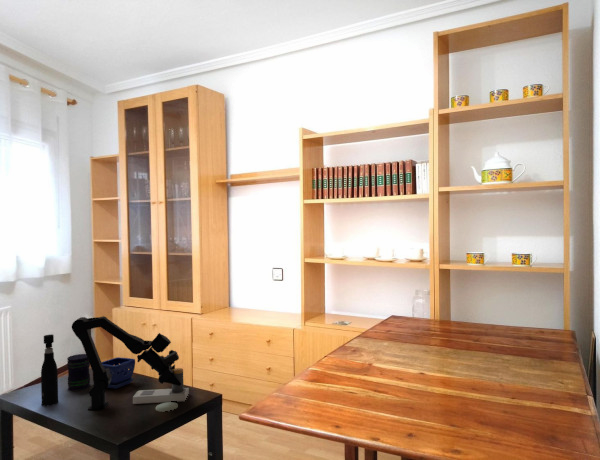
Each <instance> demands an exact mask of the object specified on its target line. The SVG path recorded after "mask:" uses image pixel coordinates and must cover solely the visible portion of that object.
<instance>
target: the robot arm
mask: <svg viewBox="0 0 600 460" xmlns="http://www.w3.org/2000/svg"><path fill="white" fill-rule="evenodd" d="M96 328H101V329H103V330H104V331H105V332H107V333H109V334H110V335H112V336H113V337H115V338H116V339H117V340H119V341H121V342H122V343H123V344H124V346H125V347H126V348H127V349H128V350H129V352H131V353H132V354H134V355H136V357H137V363H140V361H142V360H143V362H145V363H146V364H147V365H149V366H150V369H151V370H154V371H156V373H158V374H157V375H158V382H159V383H160V384H161V385H163V384H165V383H166V384H170V385H172V384H174V385H178V386H180V385H181V383H180V381H179V380H178V379H177V378H176V377H175V375H174V370H173V369H176V364H175V363H176V362H177V361H178V360H180V355H179V354H178V351H176V350H173V349H170V350H169V351H168V354H167V355H165V356H164V355H160V353H163V352H164V351H165V350H166V349H167V347H168V346H169V345H171V343H172V342H171V340H170V339H169V338H168V337H167V336H165V335H164V334H161V333H160V332H158V333H157V335H156V336H155V338H153V339H152V340H144V339H143V338H141V337H139V336H137V335H134V334H131V333H128V332H127V331H126V330H124V329H123V328H121V327H120V326H118V324H117V323H115V322H113V321H112V320H110V319H108V317H106V316H104V315H103V316H100V317H99V316H97V317H89V318H87V317H86V316H84V317H83V316H80V317H79V318H77V319H75V320H74V321H73V322H72V324H71V330H72V332H73V334H74V335H75V337H77V338H78V339H79V341H80V343H81V345H82V347H83V350H84V354H86V355H87V358H88V361H89V363H90V368H91V371H92V380H93V381H92V382H93V384H92V387H91V388H90V389H89V391H88V395H89V397H90V406H88V408H87V410H88V411H92V410H93V411H95V410H96V411H97V410H104V409H105V408H107V406H108V405H109V402H107V400H106V399H107V397H106V390H107V389H108V388H107V387H108V386H109V384H110V382H111V377H112V375H111V373H110V369H109V368H107V369H105V368H104V367H103V365H102V362H103V361H102V360H101V357H100V355H99V352H98V349H97V348H96V343H94V340H93V337H92V329H96ZM172 370H173V371H172Z"/></svg>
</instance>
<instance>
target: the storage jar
mask: <svg viewBox="0 0 600 460" xmlns="http://www.w3.org/2000/svg"><path fill="white" fill-rule="evenodd" d="M90 368H91V366H90V363H89V361H88V358H87V355H86V353H79V354H73V355H70V356H68V357H67V371H68V373H67V375H68V377H67V387H68V389H67V390H68V391H71V392H72V391H73V392H75V391H81V390H86V389H88V388H90V386H91V374H90Z"/></svg>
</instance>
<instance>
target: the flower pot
mask: <svg viewBox="0 0 600 460" xmlns="http://www.w3.org/2000/svg"><path fill="white" fill-rule="evenodd" d="M101 362H102V365H103V367H104V368H105V369H107V368H109V369H110V373H111V375H112V377H111V382H110V384H109V386H108V387H107V389H116V390H117V389H119V388H122V387H123V386H126V385H129V384H131V383H132V382H133V381H134V377H133V374H134V372H135V367H136V359H135V358H128V357H115V358H114V357H113V358H111V359H108V360H105V361H101Z"/></svg>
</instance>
